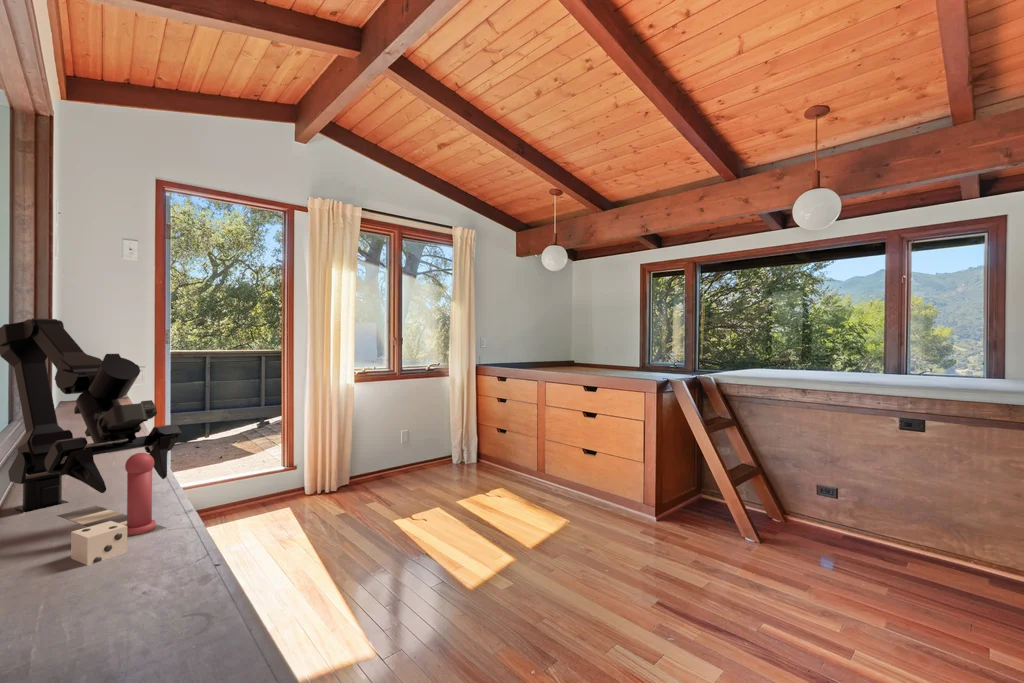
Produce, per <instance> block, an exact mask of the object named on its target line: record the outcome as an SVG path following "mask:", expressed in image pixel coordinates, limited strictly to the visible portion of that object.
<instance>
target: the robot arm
mask: <svg viewBox="0 0 1024 683" xmlns="http://www.w3.org/2000/svg"><path fill="white" fill-rule="evenodd" d="M64 325H65V324H64V322H63V321H62V320H59V319H56V318H35V317H33V318H29V319H26V320H24V321H19V322H14V323H13V322H12V323H4V324H3V325H2V326H1V327H0V357H1V358H2V359H3V360H4V361H6V363H8V364H9V365H10V366H12V367H13V370H14V374H15V375H14V376H15V380H16V385H17V391H18V397H19V403H20V407H21V413H22V417H23V418H22V419H23V423H24V428H25V435H24V436H23V438H22V440H21V441H20V443H19V445H18V446H17V449H16V450H17V455H16V456H15V458H14V460H13V461H12V464H11V466H10V467H9V469H8V471H7V472H8V479H9V482H11V483H13V484H18V485H21V484H22V504H21V505H18V506H15V507H14V510H15V509H16V510H15V511H17V510H19V512H20V511H22V512H21V513H23V512H25V513H26V514H27V513H29V512H33V511H37V510H42V509H47V508H51V507H55V506H59V505H63V504H67V503H69V501H67V500H64V499H63V498H62V497H63V494H62V491H63V489H62V488H63V479H62V478H63V476H69V477H71V478H73V479H74V480H77V481H79V482H82V483H84V484H85V485H88V486H89V487H91V488H92V489H94V490H95V491H97V492H98V493H100V494H104V493H105V492H106V491H107V486H106V482H105V480H104V478H103V476H102V474H101V472H100V470H99V468H98V466H97V465H96V463H95V461H94V456H95V455H103V454H113V453H118V452H125V451H129V450H135V449H141V448H144V450H145V453H147V454H149V455H151V456H152V457H153V459H154V467H153V469H154V470H155V471H156V473H157V474H158V476H159V477H160V478H161V479H162V480H164V479H166V478H167V476H168V453H169V452H170V451H172V449H173V448H174V447H175V445H176V444H177V442H178V440H179V439H180V437H181V436H182V434H183V433H182V431H181V428H179V426H178V425H177V424H166V425H159V426H153V427H152V429H151V430H150V431H149V434H147V435H143V436H137V435H136V434H137V433H140V431H141V430H142V427H141V424H142V423H144V422H148V421H149V420H151V419H153V418H154V417H156V416H157V415H158V411H157V406H156V404H155V403H154V401H153V400H142V401H140V402H139V403H131V404H129V403H128V404H121V402H120V399H122V398H124V397H125V396H127V394H128V393H129V391H130V389H131V388H132V386H133V385H134V383H135V381H136V380H137V378H138V377H139V375H140V373H141V369H140V366H139V365H138V364H136V363H135V362H133V361H132V360H130V359H127V358H125V357H121V355H120V353H106V354H105V355H104V357H103V359H101V358H99V357H96V356H93V355H90V354H87V353H86V352H85V351H84V350H83V349H82V348H81V347H80V345H79V344H78V343H77V342H76V340H74V339H73V338H72V337H73V336H71V335H70V333H68V331H67V330H66V329H65V326H64ZM47 359H49V361H50V362H51V363H52V364H53V365H54V366H55V368H56V373H55V376H54V381H55V385H56V386H57V388H58V389H59V390H60V391H61V392H62V393H63V394H64V395H74V394H75V395H77V394H79V395H78V397H77V399H76V400H75V406H74V409H73V410H74V411H73V412H74V415H77V414H78V415H79V414H80V415H81V417H82V419H83V421H84V424H85V426H86V429H85V431H84V434H85V436H86V437H83V436H80V437H74V436H73V432H72V431H71V430H70V429H65V430H64V429H63V428H62V427H61V426H60V425H59V423H58V418H57V413H56V409H55V402H54V399H53V398H54V397H53V394H52V388H51V384H50V378H49V372H48V369H47V362H46V361H47ZM88 437H91V438H90V439H91V440H92V442H90V443H88V441H87V438H88ZM25 513H24V514H25Z"/></svg>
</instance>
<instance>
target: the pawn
mask: <svg viewBox="0 0 1024 683" xmlns="http://www.w3.org/2000/svg"><path fill="white" fill-rule="evenodd" d="M149 454H150V453H147V452H137V453H135V454H132V455H131V456H129V458H128V459H127V460H126V462H125V464H124V469H125V471H126V472H127V474H126V476H127V480H126V481H127V482H126V484H127V486H126V488H127V489H126V494H127V495H126V496H127V497H126V503H127V504H126V515H127V524H126V525H125V526H127V536H137V535H142V534H146V533H149V532H151V531H153V530H155V524H156V520H155V519H153V469H154V459H153V457H152V456H151V455H149ZM149 534H150V533H149ZM146 535H147V534H146Z"/></svg>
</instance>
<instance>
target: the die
mask: <svg viewBox="0 0 1024 683" xmlns="http://www.w3.org/2000/svg"><path fill="white" fill-rule="evenodd" d="M70 534H71V537H70V539H71V540H70V541H71V542H70V543H71V544H70V546H71V547H70V550H71V551H70V556H71V557H70V559H72V560H74V561H76V562H78V563H81V564H83V565H86V566H90V565H93V564H96V563H99V562H101V561H104V560H107V559H111V558H114V557H115V556H116V557H117V556H119V555H122V554H126V553H127V552H128V540H127V526H125V525H122V524H119V523H116V522H113V521H108V522H105V523H101V524H98V525H94V526H90V527H88V526H86V527H84V528H81V529H77V530H73V531H71V533H70Z"/></svg>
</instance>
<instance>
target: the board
mask: <svg viewBox="0 0 1024 683" xmlns="http://www.w3.org/2000/svg"><path fill="white" fill-rule="evenodd" d="M56 516H57V517H60V518H63V519H65V520H69V521H72V522H73V523H77V524H79V525H82V526H85V527H90V526H94V525H98V524H101V523H105V522H108V521H113V522H116V523H119V524H122V525H126V524H127V514H124V513H121V512H118V511H114V510H111V509H109V508H108V509H107V508H104V507H102V506H98V505H94V506H89V507H85V508H82V509H77V510H74V511H68V512H65V513H62V514H61V513H60V514H57V515H56ZM165 529H167V526H163V525H160V524H156V523H155V530H153V531H151V532H149V533H146V534H142V535H137V536H127V541H130V540H133V539H136V538H139V537H143V536H146V535H149V534H153V533H155V532H158V531H162V530H165Z"/></svg>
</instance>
